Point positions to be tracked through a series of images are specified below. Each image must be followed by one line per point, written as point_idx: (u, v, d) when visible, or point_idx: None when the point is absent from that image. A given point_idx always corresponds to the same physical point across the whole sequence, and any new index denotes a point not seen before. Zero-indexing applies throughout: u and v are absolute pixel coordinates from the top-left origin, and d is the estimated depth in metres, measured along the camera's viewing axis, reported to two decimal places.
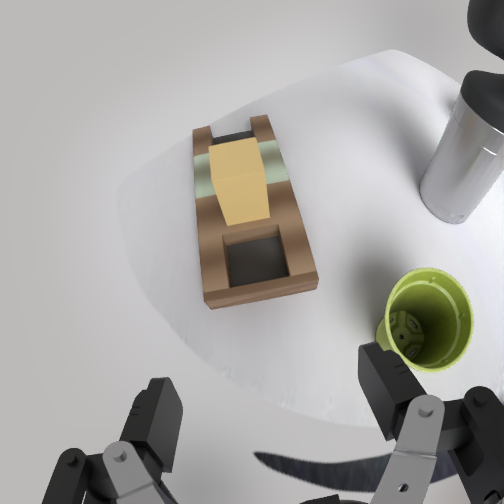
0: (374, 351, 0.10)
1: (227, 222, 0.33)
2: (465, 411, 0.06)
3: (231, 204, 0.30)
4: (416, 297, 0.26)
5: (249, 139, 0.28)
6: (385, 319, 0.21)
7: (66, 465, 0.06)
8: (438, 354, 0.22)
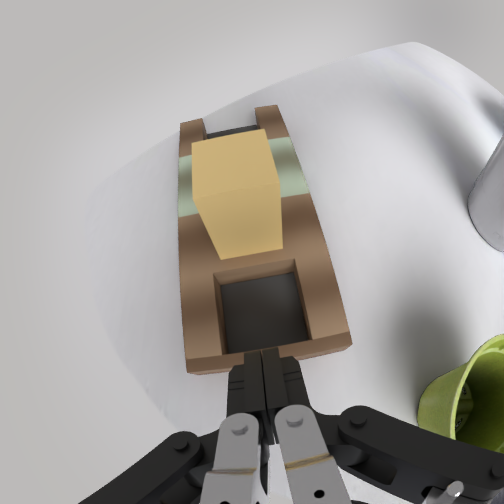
0: (271, 356, 0.11)
1: (221, 255, 0.23)
2: (347, 437, 0.06)
3: (225, 232, 0.20)
4: (476, 363, 0.16)
5: (254, 133, 0.18)
6: (451, 418, 0.11)
7: (172, 448, 0.07)
8: (494, 436, 0.12)
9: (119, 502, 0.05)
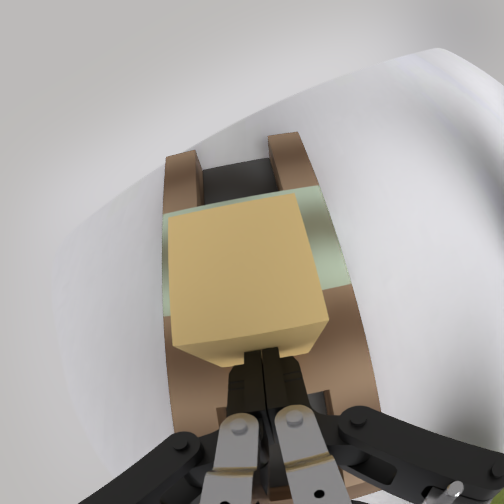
0: (271, 356, 0.11)
1: (222, 366, 0.15)
2: (347, 437, 0.06)
3: (229, 357, 0.12)
4: None
5: (277, 202, 0.11)
6: None
7: (172, 448, 0.07)
8: None
9: (119, 502, 0.05)
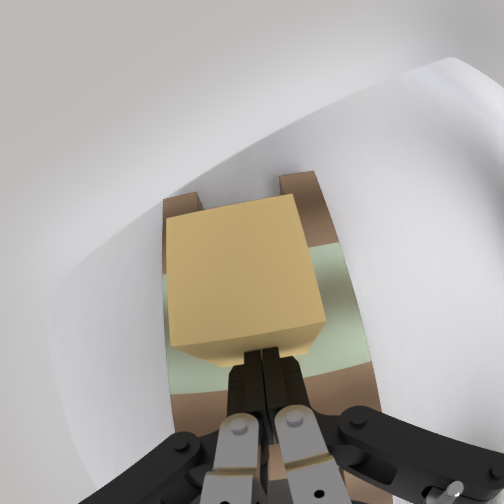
0: (271, 356, 0.11)
1: (221, 366, 0.15)
2: (347, 437, 0.06)
3: (228, 357, 0.12)
4: None
5: (275, 202, 0.11)
6: None
7: (172, 448, 0.07)
8: None
9: (119, 502, 0.05)
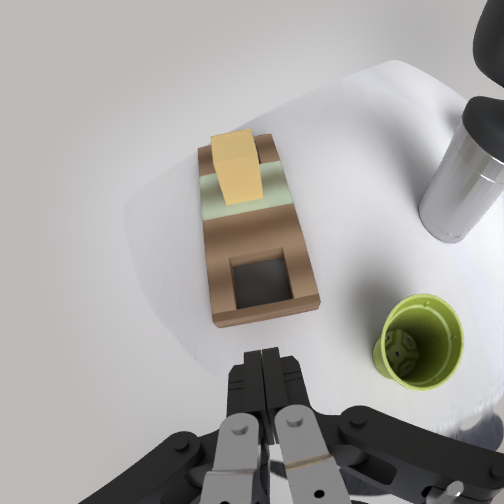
0: (270, 356, 0.11)
1: (226, 202, 0.38)
2: (347, 437, 0.06)
3: (229, 185, 0.35)
4: (412, 318, 0.28)
5: (245, 130, 0.33)
6: (381, 343, 0.23)
7: (172, 448, 0.07)
8: (430, 372, 0.24)
9: (119, 502, 0.05)
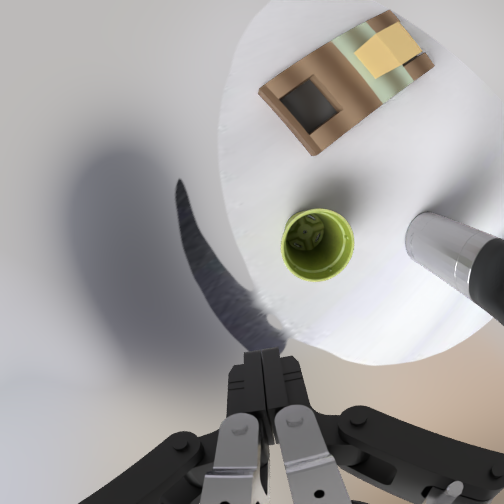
0: (271, 356, 0.11)
1: (356, 52, 0.32)
2: (347, 437, 0.06)
3: (368, 50, 0.29)
4: (334, 231, 0.39)
5: (417, 47, 0.25)
6: (304, 212, 0.34)
7: (172, 448, 0.07)
8: (299, 262, 0.39)
9: (119, 502, 0.05)
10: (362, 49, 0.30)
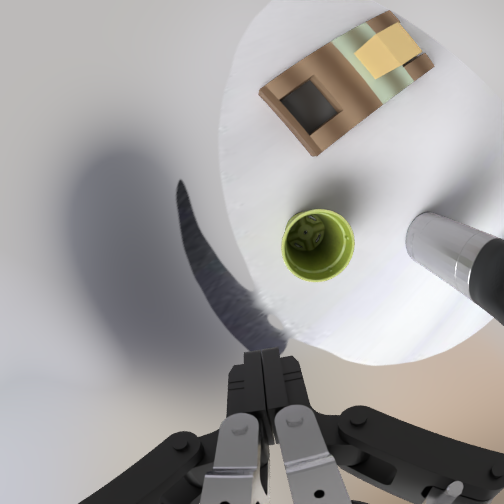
0: (270, 356, 0.11)
1: (356, 52, 0.32)
2: (347, 437, 0.06)
3: (368, 51, 0.29)
4: (334, 231, 0.39)
5: (417, 47, 0.25)
6: (304, 212, 0.34)
7: (172, 448, 0.07)
8: (300, 263, 0.39)
9: (119, 502, 0.05)
10: (362, 50, 0.30)
